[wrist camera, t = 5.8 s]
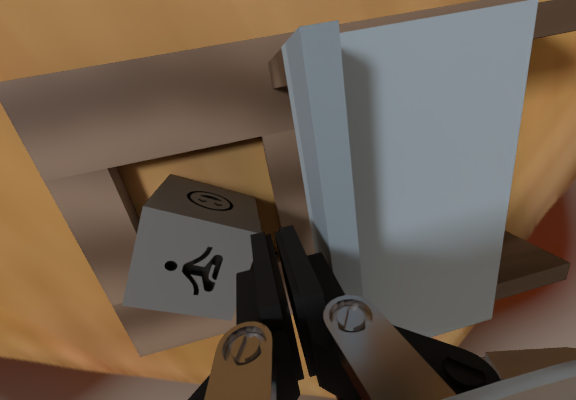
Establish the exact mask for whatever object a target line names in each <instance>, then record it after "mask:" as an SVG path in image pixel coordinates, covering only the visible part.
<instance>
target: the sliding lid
mask: <svg viewBox="0 0 576 400" xmlns="http://www.w3.org/2000/svg"><path fill="white" fill-rule="evenodd" d="M537 7H538V0H527V1H521V2H516V3H510V4H504V5H498V6H493V7H487V8H481V9H475V10H469V11H464V12H458V13H452V14H446V15H441V16H435V17H429V18H423V19H418V20H412V21H406V22H400V23H395V24H389V25H383V26H377V27H372V28H366V29H360V30H354V31H348V32H343V33H340V32H339V21H338V20H337V21H331V22H325V23H319V24H313V25H307V26H301V27H299V28H298V29H297V30H296V31H295V32H294V33H293V34H292V35H291V37H290V38H289V39H288V40H287V41H286V42H285V43H284V44H283V46H282V47H281V48H282V55H283V61H284V67H285V73H286V79H287V85H288V91H289V97H290V103H291V110H292V116H293V122H294V128H295V134H296V140H297V146H298V152H299V158H300V165H301V171H302V177H303V183H304V189H305V195H306V201H307V207H308V214H309V220H310V226H311V232H312V238H313V244H314V250H315V253H319V252H321V253H322V254H323V256H324V257H325V259H326V261H327V263H328V264H329V266H330V268H331V270H332V272H333V273H334V275H335V277H336V279H337V281H338V282H339V284H340V286H341V288H342V290H343V291H344V293H345V295H355V296H360V297H362V298H365V299H367V300H369V301H370V302H371V303H372V304H373V305H374V306H375V307H376V308H377V309H378V310H379V311H380V312H381V313H382V314H383V315H384V316H385V317H386V319H387V320H388V321H389V322H390V323H391V324H392V325H395V326H398V327H401V328H404V329H406V330H409V331H412V332H415V333H418V334H421V335H424V336H427V337H433V336H437V335H440V334H443V333H446V332H450V331H453V330H456V329H460V328H463V327H466V326H469V325H473V324H476V323H479V322H482V321H486V320H489V319H492V313H493V307H494V300H495V293H496V286H497V279H498V273H499V266H500V259H501V252H502V245H503V239H504V232H505V225H506V218H507V211H508V204H509V198H510V191H511V184H512V177H513V170H514V164H515V157H516V150H517V143H518V136H519V129H520V123H521V116H522V109H523V102H524V95H525V89H526V82H527V75H528V68H529V61H530V55H531V48H532V41H533V34H534V27H535V20H536V14H537Z"/></svg>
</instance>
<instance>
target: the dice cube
mask: <svg viewBox="0 0 576 400" xmlns="http://www.w3.org/2000/svg"><path fill="white" fill-rule="evenodd" d="M260 232H262V230H261V225H260V220H259V215H258V210H257V205H256V200H255V197H253V196H249V195H245V194H242V193H238V192H234V191H231V190H227V189H223V188H220V187H216V186H212V185H209V184H205V183H201V182H198V181H194V180H190V179H187V178H183V177H180V176H176V175H172V174H170V175H169V176H168V177H167V178H166V179H165V181H164V182H163V183H162V184H161V185H160V186H159V188H158V189H157V190H156V191H155V192H154V193H153V195H152V196H151V197H150V198H149V199H148V200H147V202H146V203H145V204H144V205H143V207H142V212H141V217H140V221H139V226H138V231H137V236H136V240H135V245H134V250H133V255H132V260H131V264H130V269H129V274H128V279H127V283H126V288H125V293H124V298H123V303H122V306H127V307H134V308H142V309H149V310H156V311H164V312H171V313H178V314H185V315H193V316H200V317H207V318H214V319H222V320H229V321H232V318H233V315H234V312H235V309H236V274H237V273H239V272H243V271H247V270H250V267H251V264H252V262H253V256H252V246H251V237H250V235H252V234H256V233H260Z"/></svg>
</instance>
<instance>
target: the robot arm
mask: <svg viewBox="0 0 576 400" xmlns="http://www.w3.org/2000/svg"><path fill="white" fill-rule="evenodd" d="M279 231H280V232H276V233H275V237H276V242H277V247H278V251H279V256H280V261H281V265H282V270H283V275H284V279H285V284H286V289H287V293H288V297H289V301H290V305H291V308H292V312H293V316H294V320H295V324H296V327H297V331H298V335H299V339H300V342H301V346H302V350H303V354H304V357H305V361H306V365H307V369H308V372H309V376H310V377H312V376H315V375H316V376H317V380H318V383H319V386H320V387H322V388H323V389H325V390H327V391H329V392H330V393H332V394H334V395H335V396H336V399H337V400H576V348H568V347H562V348H544V349H526V350H509V351H493V352H485V357H479V356H478V355H476V354H473V353H471V352H469V351H467V350H465V349H462V348H459V347H456V346H453V345H450V344H447V343H444V342H441V341H438V340H436V339H433V338H430V337H427V336H424V335H421V334H418V333H415V332H412V331H409V330H406V329H404V328H401V327H398V326H395V325H392V324H391V323H390V322H389V321H388V320H387V319H386V317H385V316H384V315H383V314H382V313H381V312H380V311H379V310H378V309H377V308H376V307H375V306H374V305H373V304H372V303H371V302H370V301H369V300H367V299H365V298H362V297H360V296H355V295H345V293H344V291H343V290H342V288H341V286H340V284H339V282H338V281H337V279H336V277H335V275H334V273H333V272H332V270H331V268H330V266H329V264H328V263H327V261H326V259H325V257H324V256H323V254H322V253H321V252H319V253H315V254H311V255H306V253H305V250H304V248H303V246H302V244H301V242H300V239H299V237H298V235H297V233H296V231H295V228H294V226H293V225H290V226H286V227H281V228H279ZM250 237H251V246H252V256H253V265H254V269H251V270H247V271H243V272H239V273H237V274H236V326H235V327H233V328H231V329H230V330H229V331H228V332H226V333H225V334H224V336H223V337H222V338H221V340H220V341H219V344H218V346H217V349H216V353H215V357H214V361H213V365H212V369H211V373H210V375H209V376H208V378H207V379H206V380H205V381H204V382H203V383H202V384H201V385H200V387H199V388H198V389H197V390H196V391H195V392H194V393H193V395H192V396H191V397H190V398H189V399H188V400H297V399H298V398H299V396H300V390H299V386H298V380H302V379H304V375H303V370H302V365H301V361H300V356H299V352H298V347H297V342H296V338H295V333H294V328H293V324H292V319H291V314H290V310H289V305H288V301H287V297H286V293H285V289H284V285H283V281H282V277H281V273H280V270H279V266H278V262H277V258H276V254H275V250H274V246H273V242H272V238H271V234H268V235H265V233H264V232H260V233H256V234H252V235H250Z"/></svg>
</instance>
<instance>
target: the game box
mask: <svg viewBox="0 0 576 400" xmlns="http://www.w3.org/2000/svg"><path fill="white" fill-rule="evenodd" d="M521 1H527V0H480V1H474V2H468V3H462V4H456V5H450V6H444V7H438V8H433V9H427V10H421V11H415V12H409V13H403V14H397V15H391V16H386V17H380V18H374V19H368V20H362V21H356V22H350V23H344V24H339V32H340V33H343V32H348V31H354V30H360V29H366V28H372V27H377V26H383V25H389V24H395V23H400V22H406V21H412V20H418V19H423V18H429V17H435V16H441V15H446V14H452V13H458V12H464V11H469V10H475V9H481V8H487V7H493V6H498V5H504V4H510V3H516V2H521ZM572 31H576V0H551V1H545V2H540V3H538V7H537V14H536V20H535V27H534V34H533V39H536V38H541V37H546V36H551V35H556V34H562V33H567V32H572ZM293 33H294V32H292V33H286V34H280V35H274V36H268V37H262V38H256V39H250V40H244V41H239V42H233V43H227V44H221V45H215V46H209V47H203V48H197V49H192V50H186V51H180V52H174V53H168V54H162V55H156V56H150V57H145V58H139V59H133V60H127V61H121V62H115V63H109V64H103V65H98V66H92V67H86V68H80V69H74V70H68V71H62V72H56V73H51V74H45V75H39V76H33V77H27V78H21V79H15V80H9V81H3V82H0V102H1V104H2V106H3V107H4V109H5V111H6V113H7V115H8V117H9V118H10V120H11V122H12V124H13V126H14V127H15V129H16V131H17V133H18V135H19V137H20V138H21V140H22V142H23V144H24V146H25V148H26V149H27V151H28V153H29V155H30V157H31V158H32V160H33V162H34V164H35V166H36V168H37V169H38V171H39V173H40V175H41V177H42V178H43V180H44V182H45V184H46V186H47V188H48V189H49V191H50V193H51V195H52V197H53V199H54V200H55V202H56V204H57V206H58V208H59V209H60V211H61V213H62V215H63V217H64V219H65V220H66V222H67V224H68V226H69V228H70V230H71V231H72V233H73V235H74V237H75V239H76V240H77V242H78V244H79V246H80V248H81V250H82V251H83V253H84V255H85V257H86V259H87V260H88V262H89V264H90V266H91V268H92V270H93V271H94V273H95V275H96V277H97V279H98V281H99V282H100V284H101V286H102V288H103V290H104V291H105V293H106V295H107V297H108V299H109V301H110V302H111V304H112V306H113V308H114V310H115V311H116V313H117V315H118V317H119V319H120V321H121V322H122V324H123V326H124V328H125V330H126V332H127V333H128V335H129V337H130V339H131V341H132V342H133V344H134V346H135V348H136V350H137V352H138V353H139V355H140V357H142V356H145V355H149V354H153V353H156V352H160V351H163V350H167V349H170V348H174V347H178V346H181V345H185V344H188V343H192V342H195V341H199V340H203V339H206V338H210V337H213V336H217V335H220V334H224V333H226V332H228V331H229V330H230V329H231V328H233V327H235V326H236V309H235V312H234V315H233V318H232V321H229V320H222V319H214V318H207V317H200V316H193V315H185V314H178V313H171V312H164V311H156V310H149V309H142V308H134V307H127V306H122V303H123V298H124V293H125V288H126V283H127V279H128V274H129V269H130V264H131V260H132V255H133V250H134V245H135V240H136V236H137V231H138V226H139V221H140V220H139V218H138V215H137V213H136V211H135V208H134V206H133V204H132V201H131V199H130V197H129V194H128V192H127V190H126V187H125V185H124V183H123V181H122V178H121V176H120V174H119V171H118V169H117V167H116V166H121V165H126V164H131V163H136V162H140V161H145V160H150V159H155V158H160V157H164V156H169V155H174V154H179V153H184V152H188V151H193V150H198V149H203V148H208V147H213V146H217V145H222V144H227V143H232V142H237V141H241V140H246V139H251V138H256V137H262V142H263V147H264V151H265V156H266V161H267V166H268V170H269V175H270V180H271V184H272V189H273V194H274V199H275V203H276V208H277V213H278V218H279V222H280V227H286V226H290V225H293V226H294V228H295V231H296V233H297V235H298V237H299V239H300V242H301V244H302V246H303V248H304V250H305V253H306V255H311V254H315V250H314V244H313V238H312V232H311V226H310V220H309V214H308V207H307V201H306V195H305V189H304V183H303V177H302V171H301V165H300V158H299V152H298V146H297V140H296V134H295V128H294V122H293V116H292V110H291V103H290V97H289V91H288V85H287V79H286V73H285V67H284V61H283V55H282V48H281V47H282V46H283V44H284V43H285V42H286V41H287V40H288V39H289V38H290V37H291V35H292V34H293ZM276 258H277V262H278V266H279V270H280V273H281V277H282V281H283V285H284V289H285V293H286V297H287V301H288V305H289V310H290V314H291V315H292V314H293V312H292V308H291V305H290V301H289V297H288V293H287V289H286V284H285V279H284V275H283V270H282V265H281V261H280V256H279V254H276ZM569 266H570V263H569V262H567V261H565V260H563V259H561V258H559V257H557V256H555V255H553V254H551V253H549V252H547V251H545V250H543V249H541V248H539V247H537V246H535V245H533V244H531V243H529V242H527V241H525V240H523V239H521V238H519V237H517V236H515V235H513V234H511V233H509V232H507V231H505V232H504V239H503V245H502V252H501V259H500V266H499V273H498V279H497V286H496V293H495V300H498V299H501V298H505V297H508V296H511V295H515V294H518V293H521V292H525V291H528V290H531V289H534V288H538V287H541V286H545V285H548V284H552V283H555V282H558V281H562V280H565V279H566V278H567V274H568V270H569ZM251 269H254V265H253V262H252V264H251V267H250V270H251ZM495 300H494V301H495Z"/></svg>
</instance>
